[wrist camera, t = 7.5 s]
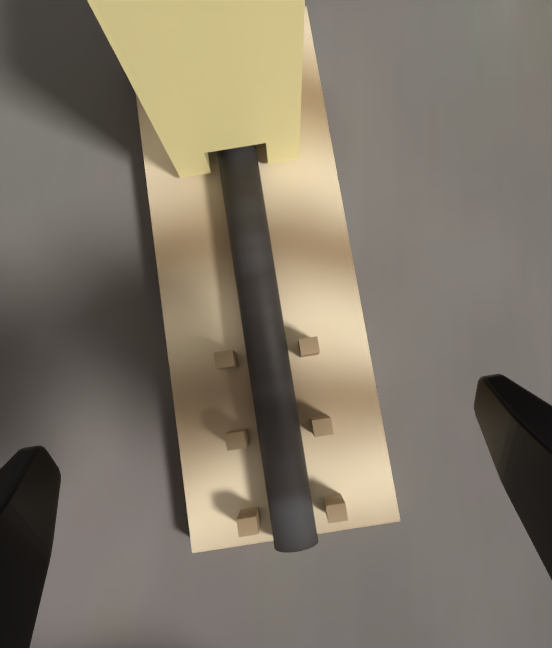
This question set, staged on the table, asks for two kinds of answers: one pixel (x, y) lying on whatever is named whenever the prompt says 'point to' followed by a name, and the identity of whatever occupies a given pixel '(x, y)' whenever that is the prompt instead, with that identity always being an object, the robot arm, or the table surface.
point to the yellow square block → (212, 73)
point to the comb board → (302, 316)
